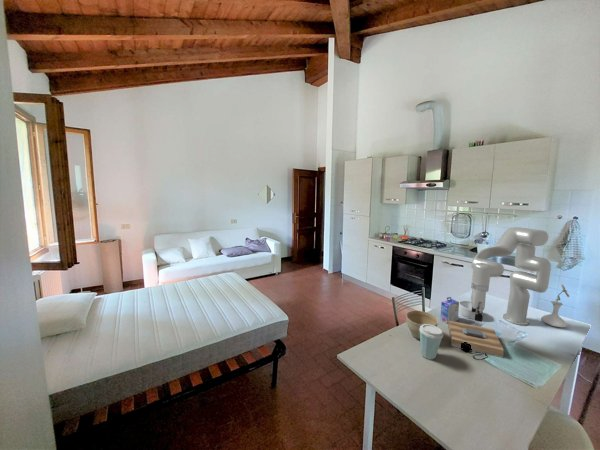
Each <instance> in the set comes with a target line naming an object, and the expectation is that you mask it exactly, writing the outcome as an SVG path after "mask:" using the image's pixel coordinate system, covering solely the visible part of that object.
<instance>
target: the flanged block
mask: <svg viewBox="0 0 600 450" xmlns="http://www.w3.org/2000/svg"><path fill="white" fill-rule="evenodd" d="M462 331H463V334H465V335H467V336H471V337H476V338H481V339H482V338H484V339H486V338H487V337H486V335H485V333H484V332H481V331H480V330H475V329H470V328H466V329H464V328H462Z"/></svg>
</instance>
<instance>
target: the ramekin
mask: <svg viewBox="0 0 600 450" xmlns="http://www.w3.org/2000/svg"><path fill="white" fill-rule="evenodd" d="M458 302H459V311H458V312H459V313H460V315H461V316H462V317H465V318H467V319H470V320H475V312H472V305H471V300H461V301H458Z"/></svg>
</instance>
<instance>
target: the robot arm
mask: <svg viewBox="0 0 600 450" xmlns="http://www.w3.org/2000/svg"><path fill="white" fill-rule="evenodd" d="M548 241H549V233H548V232H547V231H545V230H542V229H536V228H535V229H533V228H528V227H521V226H520V227H518V226H515V227H509V228H507V229H505V231H504V233H502V235H501V237H500V238H498V240H497V242H495V244H493V245H491V246H488V247H486V248H483V249H481V250H480V251H478V253H476V255H475V256H474V258H473V259H472V261H471V263H470V264H471V265H470V266H471V269H472V277H471V295H470V301H471V305H472V312H475V319H474V321H475V322H481V323H482V322H483V318H484V313H483V312H484V310H485V305H486V298H487V296H486V295H487V292H489V289H490V288H489V287H490V282H491V281H490V279H491V278H492V277H493V278H495V277H496V278H497V277H500V276H502V275H503V274H504V272H505V266H504V265H503V264H501V263H499V262H497V261H493V260H489V259H490V258H498V257H507V256H511V255H513V253H514V251H515V258H514V266H515V268H517V269H518V270H514V271H512V272H511V273H510V275H509V283H510V284H509V287H510V288H509V295H508V301H507V309H506V313H504V314H503V315H502V318H503V319H504V320H505V321H507V322H509V323H511V324H514V325H517V326H518V325H519V326H528V325H529V324H530V320H528V319H527V315H528V309H529V303H530V298H531V295H530V291H532V292H537V293H541V294H543V293H545V292H546V291H548V287H549V282H550V277H551V270H552V265H551V262H550V260H549V259H547V258H544V257H540V256H536V247H540V246H541V247H542V246H544V245H546V243H547V242H548Z"/></svg>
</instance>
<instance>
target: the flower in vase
mask: <svg viewBox="0 0 600 450" xmlns="http://www.w3.org/2000/svg"><path fill="white" fill-rule="evenodd" d="M561 288H562V291H561V292H560V293H558V295H557V298H556V300H552V301H551V303H552V306H553V307H552V308H553V309H552V313H549V314H545V315H542V316H541V318H540V319H541V321H542V322H543V323H545V324H547V325H549V326H552V327H556V328H566V327H568V324H567V322H566V321H565V320H564V319H563V318H562V317H561V316H560V315H559V310H560V308H561V306H564V304H563V303H562V302H560V301H561V298H560V295H561V294H562V293H564V294H565V295H566V297H567V298H570V294H569V293H568V290H566V287H565V286H564V284H561Z"/></svg>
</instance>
